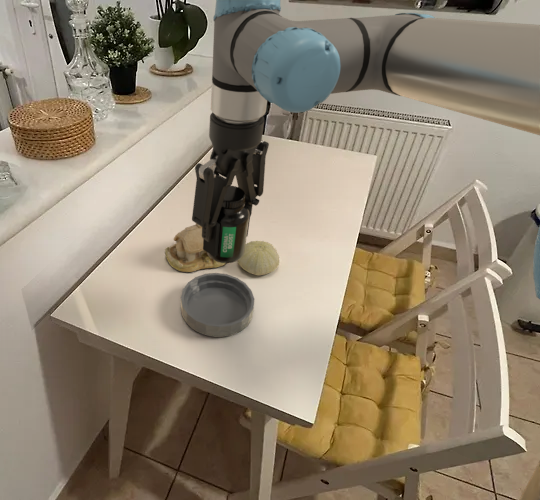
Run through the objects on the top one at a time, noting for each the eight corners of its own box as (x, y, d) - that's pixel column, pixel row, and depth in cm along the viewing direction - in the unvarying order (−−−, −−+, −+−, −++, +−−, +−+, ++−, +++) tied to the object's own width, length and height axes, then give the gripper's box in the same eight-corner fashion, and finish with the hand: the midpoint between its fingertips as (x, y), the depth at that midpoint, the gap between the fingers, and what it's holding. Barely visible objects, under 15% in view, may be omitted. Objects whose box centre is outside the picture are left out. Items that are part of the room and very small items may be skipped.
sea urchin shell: (226, 260, 94) (244, 228, 94) (240, 266, 101) (256, 237, 101) (261, 280, 90) (280, 246, 89) (272, 285, 96) (290, 254, 96)
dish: (266, 323, 83) (268, 310, 81) (201, 349, 78) (202, 336, 76) (229, 277, 93) (230, 265, 91) (169, 297, 88) (169, 285, 86)
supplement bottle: (233, 269, 72) (239, 210, 64) (198, 255, 74) (200, 196, 66) (251, 247, 76) (259, 189, 68) (217, 234, 79) (221, 177, 71)
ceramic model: (211, 234, 104) (213, 200, 98) (237, 261, 97) (241, 225, 91) (159, 252, 99) (157, 217, 92) (183, 282, 92) (183, 246, 85)
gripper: (262, 89, 66) (247, 211, 81) (164, 124, 56) (168, 257, 71) (302, 103, 62) (278, 229, 77) (205, 144, 52) (199, 281, 67)
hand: (225, 242), depth 74 cm, fingers closed on supplement bottle, 7 cm apart
